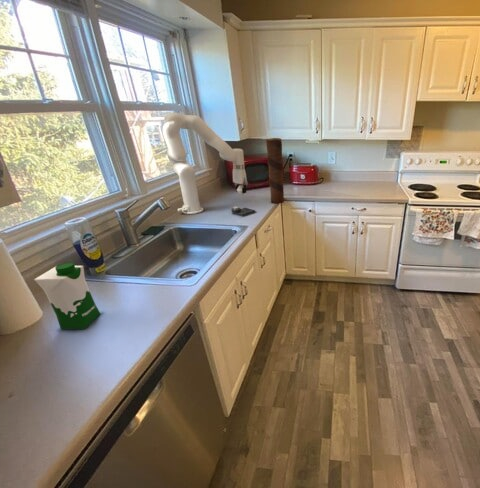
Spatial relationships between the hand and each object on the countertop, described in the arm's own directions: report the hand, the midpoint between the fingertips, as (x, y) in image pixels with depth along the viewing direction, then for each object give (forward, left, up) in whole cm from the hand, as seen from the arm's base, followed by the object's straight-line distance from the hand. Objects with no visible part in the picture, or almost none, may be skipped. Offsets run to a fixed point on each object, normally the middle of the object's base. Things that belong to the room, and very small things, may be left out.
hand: (241, 192), depth 204 cm
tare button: (-19, -17, -5) cm, 26 cm away
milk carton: (-117, -62, -8) cm, 133 cm away
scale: (-16, -20, -8) cm, 27 cm away
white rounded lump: (0, 0, -2) cm, 2 cm away
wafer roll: (+17, -20, -8) cm, 27 cm away
